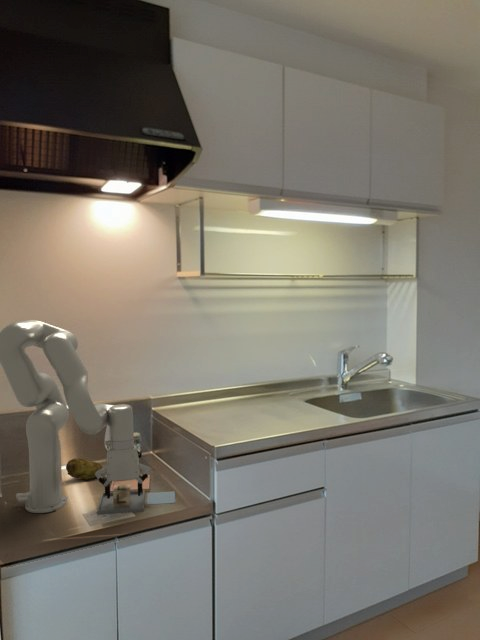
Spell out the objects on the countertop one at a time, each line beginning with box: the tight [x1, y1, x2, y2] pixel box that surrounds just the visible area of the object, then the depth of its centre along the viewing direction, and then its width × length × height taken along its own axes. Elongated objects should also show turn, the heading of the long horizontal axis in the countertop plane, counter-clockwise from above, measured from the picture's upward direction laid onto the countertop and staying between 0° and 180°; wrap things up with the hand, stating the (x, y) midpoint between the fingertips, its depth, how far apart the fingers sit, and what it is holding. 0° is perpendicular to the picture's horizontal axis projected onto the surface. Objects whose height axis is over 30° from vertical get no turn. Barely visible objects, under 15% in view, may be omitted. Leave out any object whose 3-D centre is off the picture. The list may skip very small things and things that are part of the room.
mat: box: [146, 490, 176, 506], centre depth 165 cm, size 9×9×1 cm
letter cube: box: [113, 485, 130, 507], centre depth 161 cm, size 5×5×5 cm
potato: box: [65, 457, 103, 481], centre depth 183 cm, size 8×13×8 cm, turn 111°
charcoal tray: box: [96, 490, 146, 515], centre depth 161 cm, size 14×14×2 cm
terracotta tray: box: [110, 474, 151, 493], centre depth 176 cm, size 13×13×2 cm
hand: (124, 495), depth 161 cm, fingers open, 9 cm apart
